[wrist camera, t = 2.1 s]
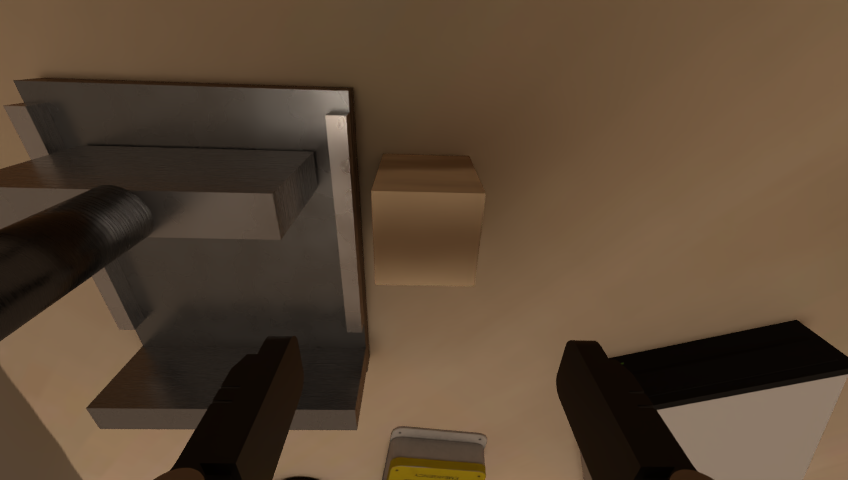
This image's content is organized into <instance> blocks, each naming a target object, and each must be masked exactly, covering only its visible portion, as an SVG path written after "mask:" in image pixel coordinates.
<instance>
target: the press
mask: <svg viewBox="0 0 848 480" xmlns="http://www.w3.org/2000/svg"><path fill="white" fill-rule="evenodd" d="M13 81H14V83H15V85H16V87H17V89H18V91H19V93H20V95H21V97H22V99H23V101H24V103H18V104H11V105H4V108H5V110H6V112H7V114H8V116H9V118H10V120H11V121H12V123H13V125H14V127H15V129H16V131H17V133H18V135H19V137H20V139H21V141H22V143H23V145H24V147H25V148H26V150H27V152H28V154H29V156H30V158H31V160H33V159H36V158H39V157H43V156H46V155H50V154H53V153H56V152H60V151H63V150H66V149H70V148H73V147H76V146H80V145H85V146H123V147H160V148H198V149H235V150H273V151H310V152H314V159H315V168H316V176H317V184H318V188H317V189H316V191H315V192H314V194H313V195H312V197H311V198H310V199H309V201H308V202H307V204H306V205H305V207H304V208H303V209H302V211H301V212H300V214H299V215H298V216H297V218H296V219H295V221H294V222H293V224H292V225H291V226H290V228H289V229H288V231H287V232H286V234H285V235H284V236H283V238H282V239H281V240H262V239H212V238H161V237H146V238H145V239H144V240H142V241H141V242H139V243H138V244H137V245H135V246H134V247H132V248H131V249H130V250H128V251H127V252H125V253H124V254H122V255H121V256H120V257H118V258H117V259H115V260H114V261H113V262H111V263H110V264H108V265H107V266H106V267H104V268H103V269H101V270H100V271H98V272H97V273H96V274H94V275H93V276H92V278H93V280H94V281H95V283H96V285H97V287H98V289H99V291H100V293H101V295H102V297H103V299H104V301H105V303H106V305H107V306H108V308H109V310H110V312H111V314H112V316H113V318H114V320H115V322H116V324H117V326H118V328H119V329H120V330H136V332H137V334H138V336H139V338H140V340H141V342H142V344H143V346H142V348H141V349H140V350H139V351H138V352H137V353H136V354H135V355H134V356H133V357H132V358H131V360H130V361H129V362H128V363H127V364H126V365H125V366H124V367H123V368H122V369H121V371H120V372H119V373H118V374H117V375H116V376H115V377H114V378H113V379H112V380H111V381H110V383H109V384H108V385H107V386H106V387H105V388H104V389H103V390H102V391H101V392H100V394H99V395H98V396H97V397H96V398H95V399H94V400H93V401H92V402H91V403H90V404H89V406H88V407H87V408H86V409H87V411H88V412H89V413H90V415H91V416H92V418H93V419H94V421H95V422H96V424H97V425H98V427H99V428H100V429H196V428H197V426H198V424H199V422H200V421H201V419H202V417H203V416H204V414H205V412H206V411H207V409H208V407H209V405H210V404H212V402H213V399H214V397H215V395H216V394H217V392H218V390H219V389H221V385H222V383H223V382H224V380H225V378H226V376H227V375H228V373H229V371H230V370H231V368H232V367H233V366H235V365H236V364H237V363H238V362H239V361H240V360H241V359H242V358H243V357H244V356H246V355H247V354H258V352H259V350H260V348H261V346H262V344H263V342H264V341H265V339H266V338H267V337H268V336H270V335H271V336H296V337H297V340H298V344H299V350H300V355H301V360H302V366H303V371H304V382H303V389H302V393H301V396H300V399H299V402H298V405H297V408H296V411H295V414H294V417H293V420H292V423H291V426H290V429H289V430H357V427H358V421H359V415H360V408H361V402H362V396H363V389H364V383H365V377H366V372H367V371H368V364H369V358H370V354H369V338H368V321H367V305H366V289H365V273H364V257H363V241H362V225H361V208H360V192H359V176H358V160H357V144H356V128H355V112H354V95H353V88H345V87H314V86H282V85H251V84H219V83H188V82H156V81H125V80H93V79H61V78H36V79H24V80H13Z"/></svg>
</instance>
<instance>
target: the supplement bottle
mask: <svg viewBox="0 0 848 480" xmlns="http://www.w3.org/2000/svg"><path fill="white" fill-rule="evenodd" d="M287 480H315V479H310V478H291V479H287Z"/></svg>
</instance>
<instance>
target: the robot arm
mask: <svg viewBox="0 0 848 480" xmlns="http://www.w3.org/2000/svg"><path fill="white" fill-rule="evenodd" d="M303 382H304V371H303V366H302V360H301V355H300V350H299V344H298V340H297V337H296V336H271V335H270V336H268V337H267V338H266V339H265V341H264V342H263V344H262V346H261V348H260V350H259V352H258V354H247V355H246V356H244V357H243V358H242V359H241V360H240V361H239V362H238V363H237V364H236V365H235V366H233V367H232V368H231V370H230V371H229V373H228V375H227V376H226V378H225V380H224V382H223V383H222V385H221V389H219V390H218V392H217V394H216V395H215V397H214V399H213V402H212V404H210V405H209V407H208V409H207V411H206V412H205V414H204V416H203V417H202V419H201V421H200V422H199V424H198V426H197V428H196V429H195V431H194V433H193V434H192V436H191V438H190V439H189V441H188V443H187V445H186V446H185V448H184V450H183V451H182V453H181V455H180V456H179V458H178V460H177V461H176V463H175V464H174V466H173V467H172V468H171V470H170V471H168V472H166V473H164V474H162V475H160V476H159V477H157V478H155V479H154V480H272V479H273V476H274V473H275V470H276V467H277V464H278V461H279V458H280V455H281V452H282V449H283V446H284V443H285V440H286V437H287V434H288V432H289V429H290V426H291V423H292V420H293V417H294V414H295V411H296V408H297V405H298V402H299V399H300V396H301V393H302V389H303ZM556 386H557V392H558V396H559V399H560V401H561V404H562V406H563V409H564V411H565V414H566V416H567V419H568V421H569V424H570V426H571V429H572V431H573V434H574V436H575V439H576V441H577V443H578V446H579V448H580V451H581V453H582V456H583V458H584V461H585V463H586V466H587V468H588V471H589V473H590V476H591V478H592V480H714V479H712V478H711V477H709V476H707V475H705V474H703V473H700V472H698V471H697V470H696V469H695V467H694V466H693V464H692V463H691V461H690V460H689V458H688V457H687V455H686V454H685V452H684V451H683V449H682V448H681V446H680V445H679V443H678V442H677V440H676V439H675V437H674V436H673V434H672V433H671V431H670V430H669V428H668V427H667V425H666V424H665V422H664V421H663V419H662V418H661V416H660V414H659V413H658V411H657V410H656V409H654V408H653V404H652V402H651V401H650V399H649V398H648V396H647V395H646V394H644V390H643V389H642V387H641V386H640V384H639V383H638V381H637V380H636V378H635V377H634V375H633V374H632V373H631V372H630V371H629V370H628V369H626V368H625V367H624V366H623V365H622V364H621V363H620V362H619V361H617V360H616V359H608V357H607V355H606V354H605V352H604V350H603V349H602V347H601V346H600V344H599V343H598V342H596V341H575V340H570V341H568V342H567V344H566V347H565V350H564V353H563V357H562V360H561V363H560V367H559V370H558V373H557V378H556Z"/></svg>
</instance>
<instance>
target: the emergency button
mask: <svg viewBox="0 0 848 480" xmlns="http://www.w3.org/2000/svg"><path fill="white" fill-rule="evenodd" d="M486 443H487V437H486V436H485V435H484V434H481V433H473V432H462V431H451V430H440V429H429V428H418V427H407V426H400V427H397V428H395V429H394V430H393V431H392V434H391V439H390V444H389V449H388V453H387V458H386V463H385V468H384V473H383V478H382V480H485V478H486V473H485V463H484V448H485V445H486Z"/></svg>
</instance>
